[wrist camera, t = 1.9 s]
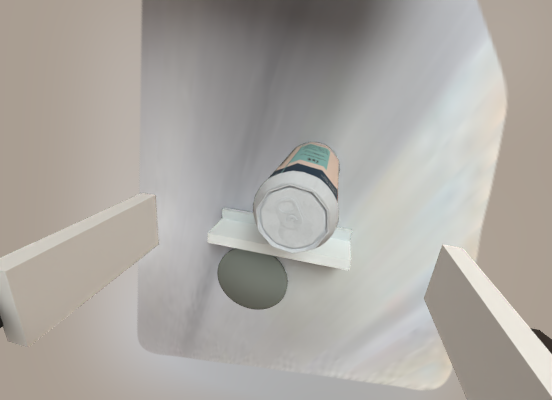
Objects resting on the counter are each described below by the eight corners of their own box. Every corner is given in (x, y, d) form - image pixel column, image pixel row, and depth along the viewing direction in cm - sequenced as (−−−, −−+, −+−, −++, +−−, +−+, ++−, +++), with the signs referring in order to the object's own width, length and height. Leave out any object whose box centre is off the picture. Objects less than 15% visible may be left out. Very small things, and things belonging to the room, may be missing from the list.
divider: (224, 207, 29) (207, 223, 25) (351, 229, 27) (353, 250, 23) (223, 232, 30) (207, 251, 26) (346, 256, 28) (346, 280, 24)
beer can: (297, 198, 27) (267, 268, 16) (279, 151, 26) (233, 192, 15) (346, 183, 25) (351, 249, 14) (330, 133, 24) (320, 163, 13)
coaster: (219, 240, 30) (217, 241, 30) (291, 254, 29) (290, 256, 29) (218, 298, 33) (217, 300, 33) (283, 313, 32) (283, 316, 32)
